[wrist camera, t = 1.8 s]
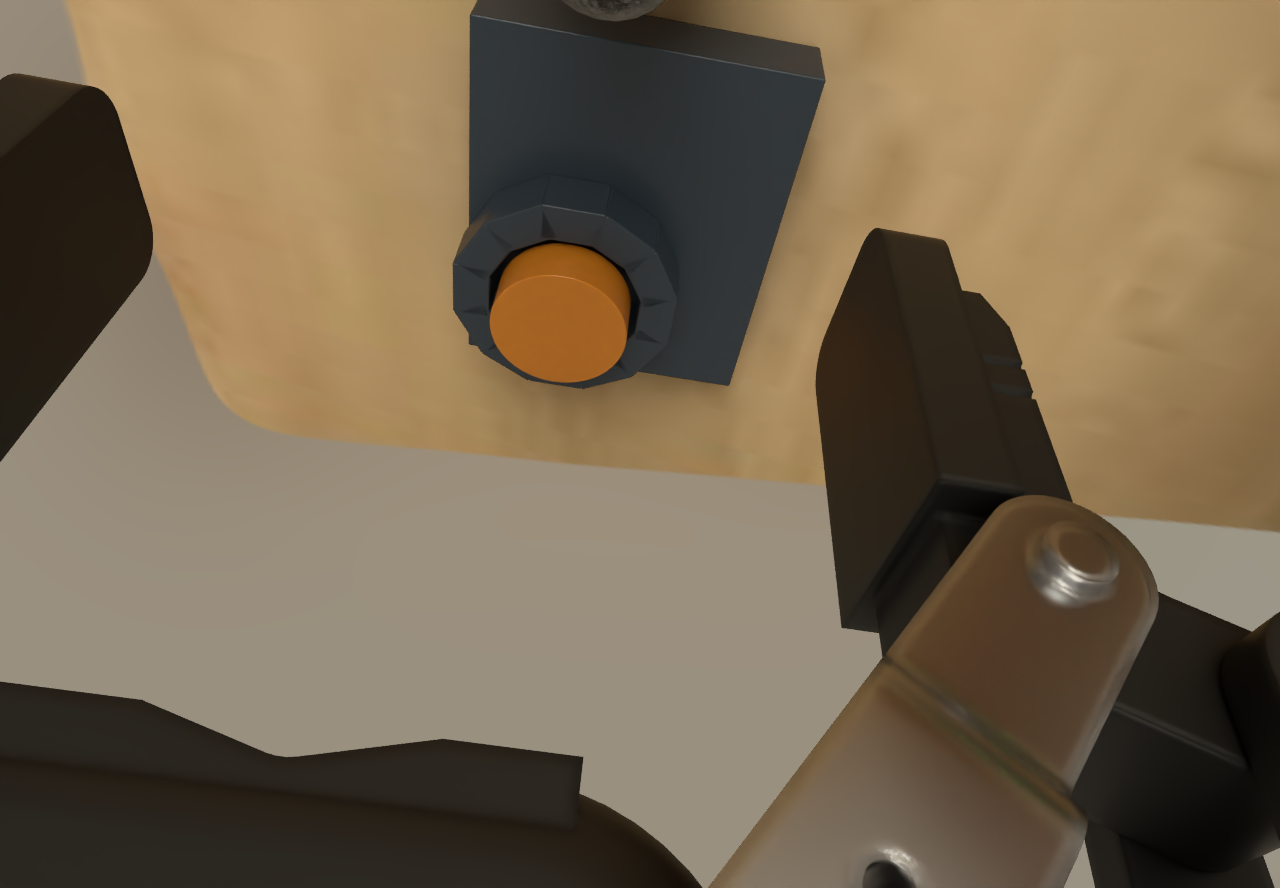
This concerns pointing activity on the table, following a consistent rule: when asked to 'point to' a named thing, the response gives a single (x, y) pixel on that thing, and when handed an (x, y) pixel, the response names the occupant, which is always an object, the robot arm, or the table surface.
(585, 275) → the button
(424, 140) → the table surface
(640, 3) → the salt shaker
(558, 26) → the button box
